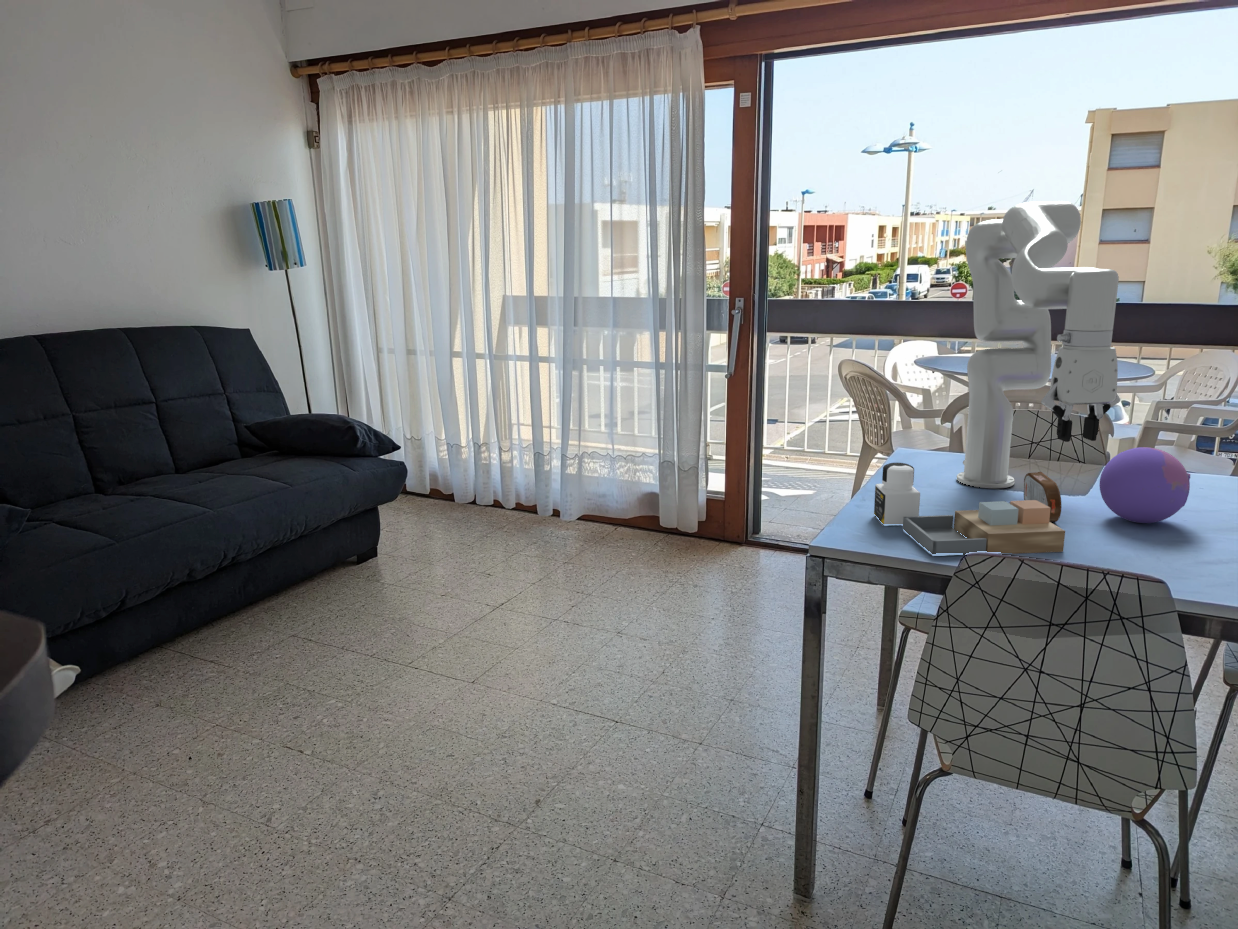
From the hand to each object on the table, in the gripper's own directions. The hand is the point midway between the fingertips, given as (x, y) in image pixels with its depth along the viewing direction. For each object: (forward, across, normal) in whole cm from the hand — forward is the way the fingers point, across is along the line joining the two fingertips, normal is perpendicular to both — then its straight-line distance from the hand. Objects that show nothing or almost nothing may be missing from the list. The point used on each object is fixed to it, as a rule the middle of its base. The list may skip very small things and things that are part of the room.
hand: (1076, 438), depth 150 cm
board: (+19, -12, 0) cm, 22 cm away
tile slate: (+15, -14, 0) cm, 20 cm away
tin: (+20, +2, +14) cm, 24 cm away
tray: (+19, -24, 0) cm, 31 cm away
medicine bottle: (+20, -28, +14) cm, 37 cm away
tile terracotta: (+15, -8, 0) cm, 17 cm away
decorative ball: (+20, +20, +8) cm, 29 cm away
